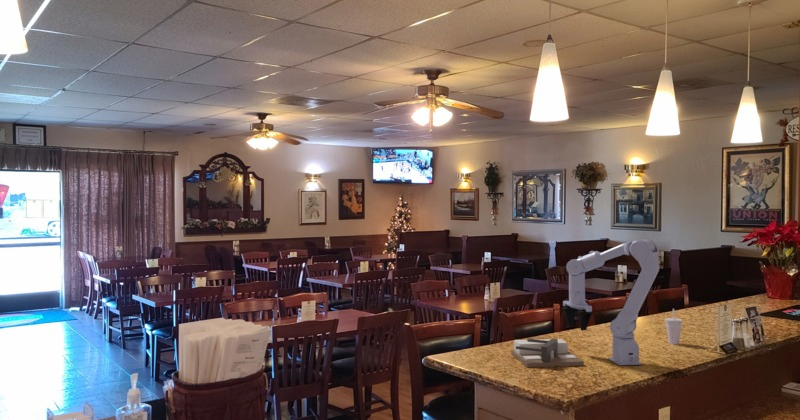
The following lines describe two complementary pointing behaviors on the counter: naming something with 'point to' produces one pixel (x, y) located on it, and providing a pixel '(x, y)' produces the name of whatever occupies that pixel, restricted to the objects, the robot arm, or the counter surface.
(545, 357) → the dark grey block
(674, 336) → the smoothie
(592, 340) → the counter surface
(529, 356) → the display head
